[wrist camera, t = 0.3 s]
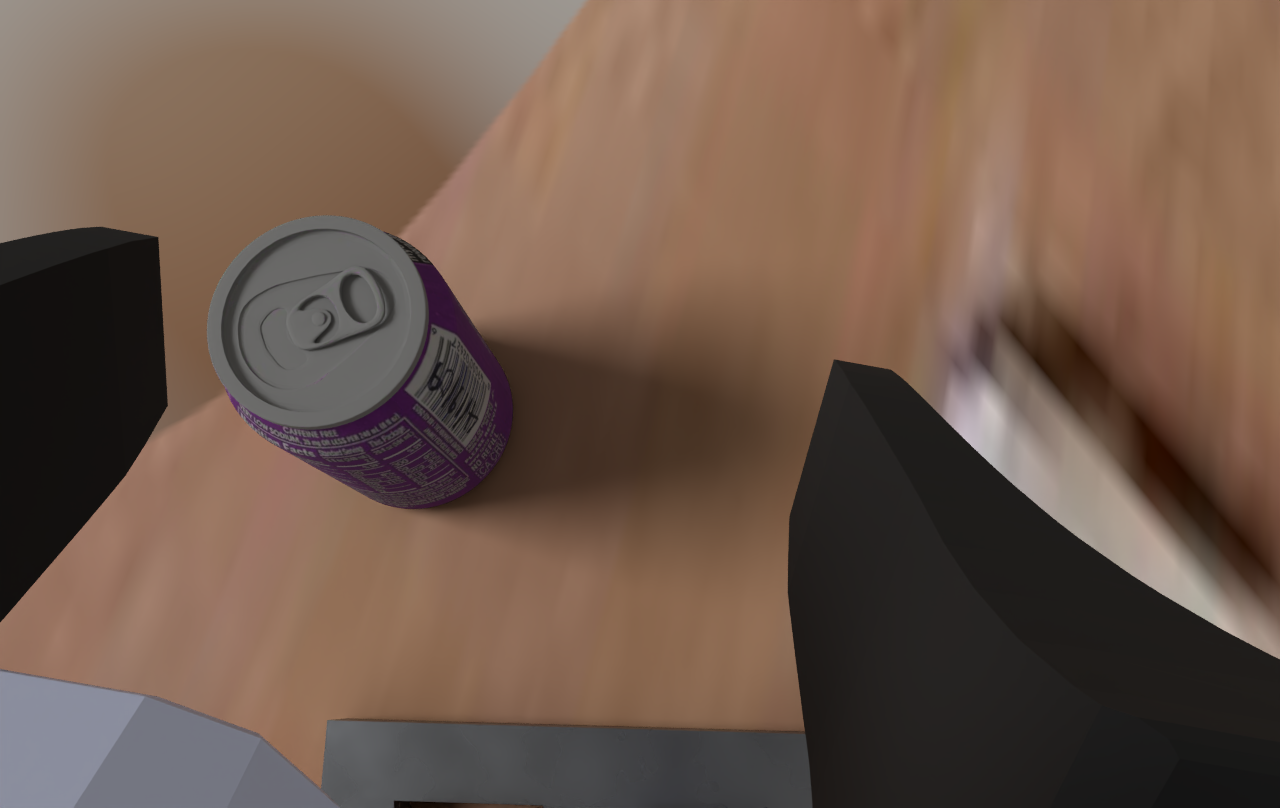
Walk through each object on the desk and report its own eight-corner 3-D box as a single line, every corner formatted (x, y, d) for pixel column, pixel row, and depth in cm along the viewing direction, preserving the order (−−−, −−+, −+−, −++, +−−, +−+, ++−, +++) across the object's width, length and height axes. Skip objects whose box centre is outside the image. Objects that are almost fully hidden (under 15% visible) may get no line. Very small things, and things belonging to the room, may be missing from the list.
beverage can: (469, 300, 43) (381, 158, 32) (547, 458, 41) (485, 370, 30) (304, 381, 43) (153, 268, 31) (376, 545, 41) (244, 490, 29)
